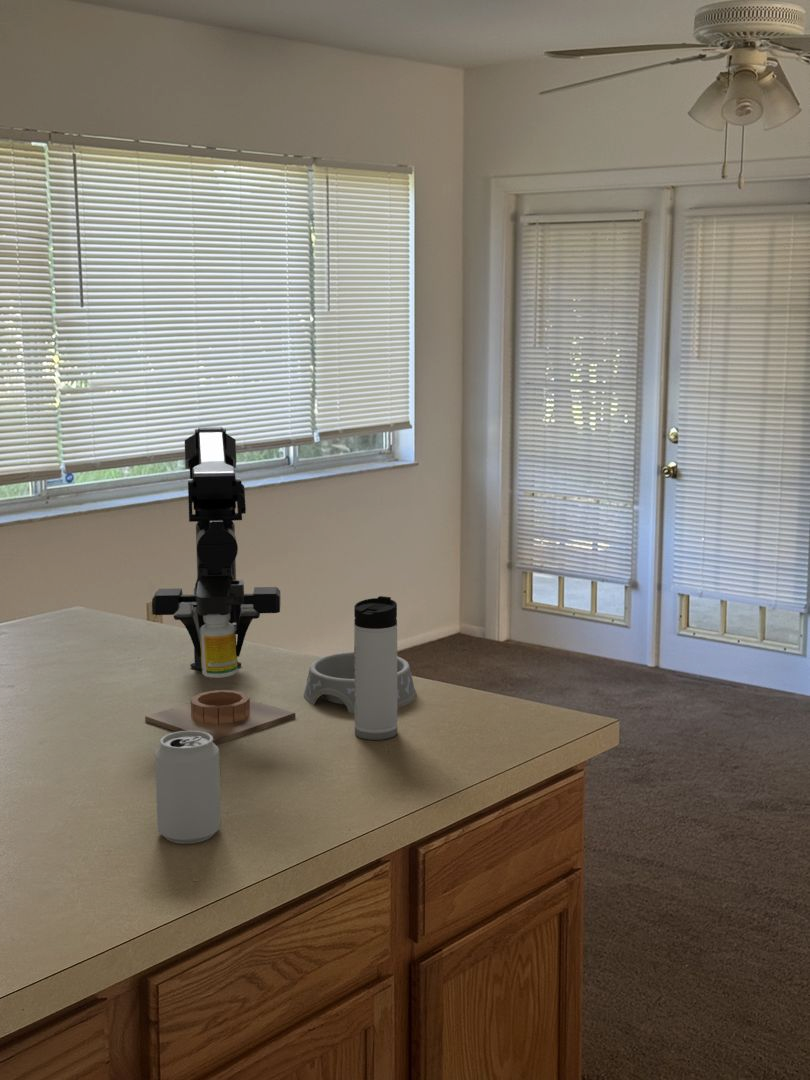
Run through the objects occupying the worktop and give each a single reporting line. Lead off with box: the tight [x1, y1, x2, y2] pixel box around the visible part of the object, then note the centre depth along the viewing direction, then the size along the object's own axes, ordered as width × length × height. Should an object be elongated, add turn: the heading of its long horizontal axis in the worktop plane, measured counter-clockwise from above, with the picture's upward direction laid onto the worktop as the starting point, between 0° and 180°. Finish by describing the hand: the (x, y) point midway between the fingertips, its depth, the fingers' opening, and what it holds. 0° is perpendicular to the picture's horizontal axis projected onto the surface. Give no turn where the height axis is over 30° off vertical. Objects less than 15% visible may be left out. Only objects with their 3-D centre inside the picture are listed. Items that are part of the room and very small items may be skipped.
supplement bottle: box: [199, 613, 239, 679], centre depth 189 cm, size 5×5×10 cm
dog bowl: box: [303, 651, 417, 714], centre depth 203 cm, size 17×18×5 cm
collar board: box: [144, 689, 296, 746], centre depth 190 cm, size 16×16×3 cm
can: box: [154, 731, 222, 845], centre depth 149 cm, size 8×8×12 cm
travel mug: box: [353, 595, 398, 741], centre depth 183 cm, size 6×7×20 cm
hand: (218, 656), depth 189 cm, fingers closed on supplement bottle, 5 cm apart
